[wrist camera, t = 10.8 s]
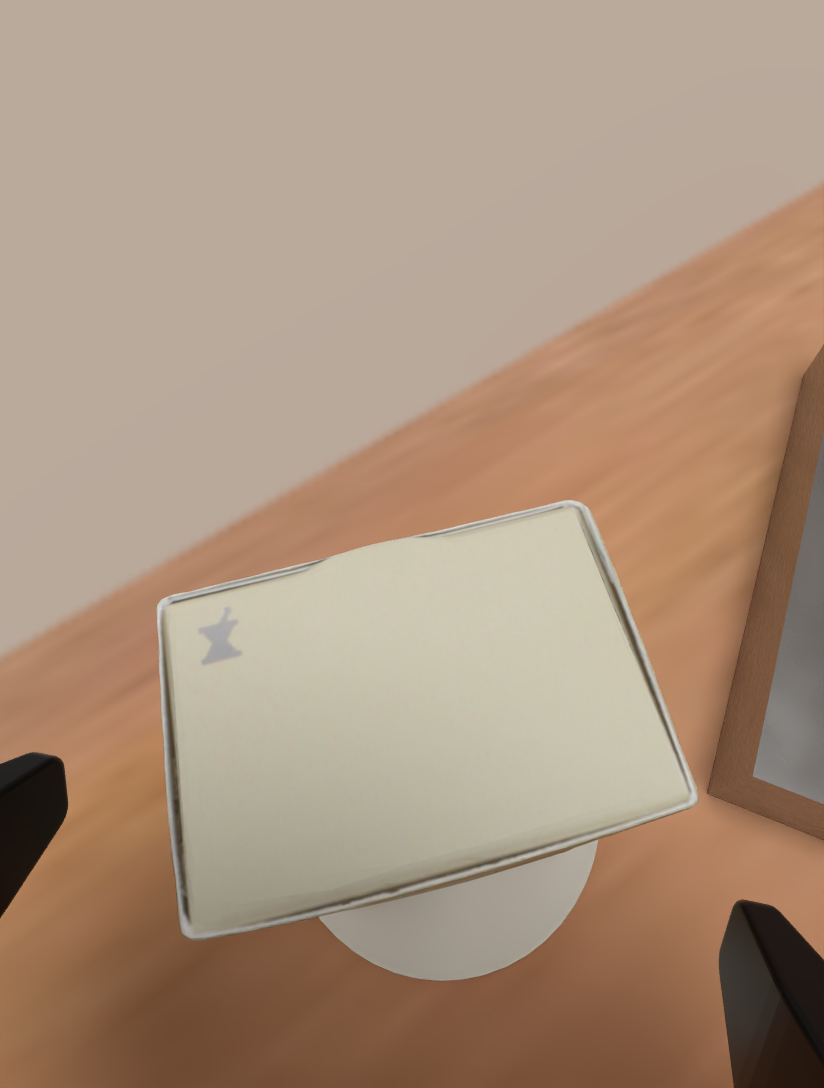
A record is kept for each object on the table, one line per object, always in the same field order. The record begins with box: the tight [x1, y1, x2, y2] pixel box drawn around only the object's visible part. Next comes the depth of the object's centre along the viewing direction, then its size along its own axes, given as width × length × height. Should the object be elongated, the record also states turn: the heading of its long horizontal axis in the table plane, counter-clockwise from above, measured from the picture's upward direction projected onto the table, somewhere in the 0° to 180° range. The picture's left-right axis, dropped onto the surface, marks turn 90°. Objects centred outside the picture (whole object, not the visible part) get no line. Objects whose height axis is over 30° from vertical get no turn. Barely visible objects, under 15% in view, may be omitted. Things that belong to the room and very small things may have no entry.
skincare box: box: [157, 500, 698, 941], centre depth 14 cm, size 6×4×12 cm
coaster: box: [319, 839, 599, 981], centre depth 19 cm, size 9×9×1 cm
